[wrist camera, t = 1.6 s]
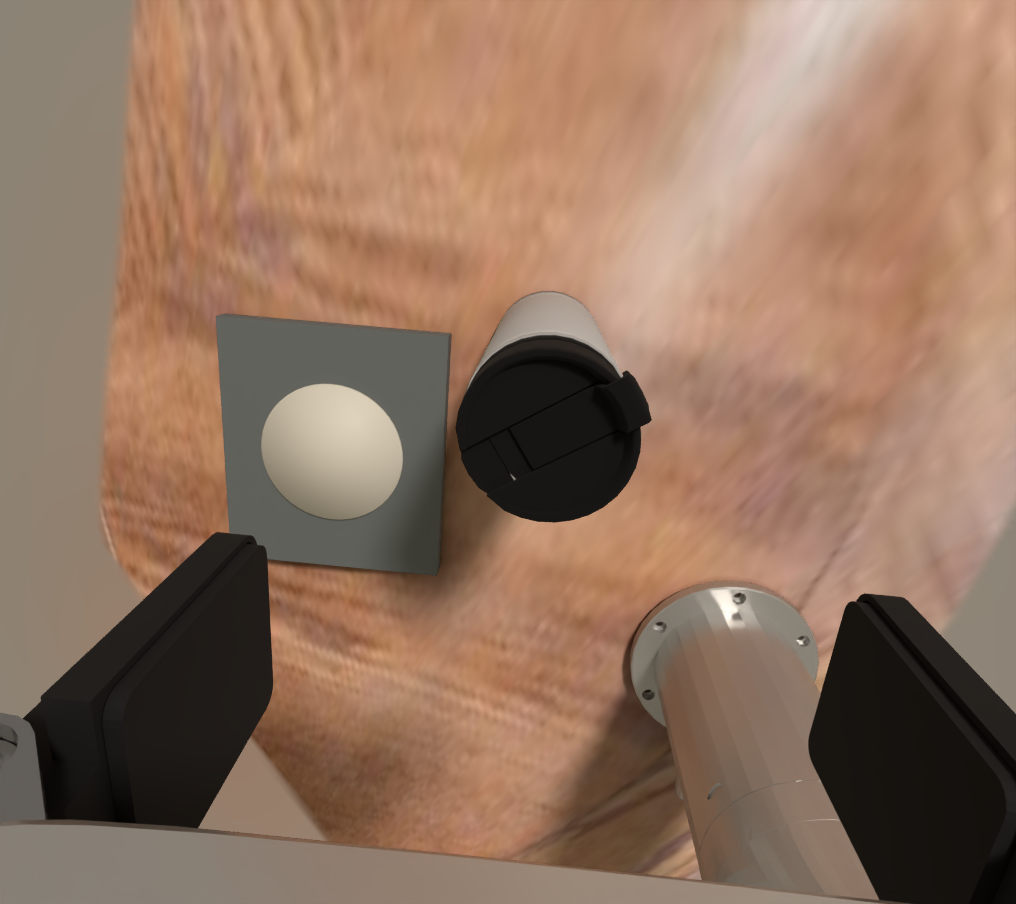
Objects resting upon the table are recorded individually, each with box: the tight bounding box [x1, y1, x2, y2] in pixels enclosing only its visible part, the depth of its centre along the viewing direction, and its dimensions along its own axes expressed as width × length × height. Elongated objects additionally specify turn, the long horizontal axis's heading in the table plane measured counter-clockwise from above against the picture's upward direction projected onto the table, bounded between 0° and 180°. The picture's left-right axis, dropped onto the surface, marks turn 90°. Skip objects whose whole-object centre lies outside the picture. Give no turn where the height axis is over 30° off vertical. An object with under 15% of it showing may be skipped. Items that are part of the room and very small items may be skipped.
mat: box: [216, 314, 451, 576], centre depth 43 cm, size 16×14×1 cm
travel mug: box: [456, 291, 652, 522], centre depth 31 cm, size 6×7×20 cm
